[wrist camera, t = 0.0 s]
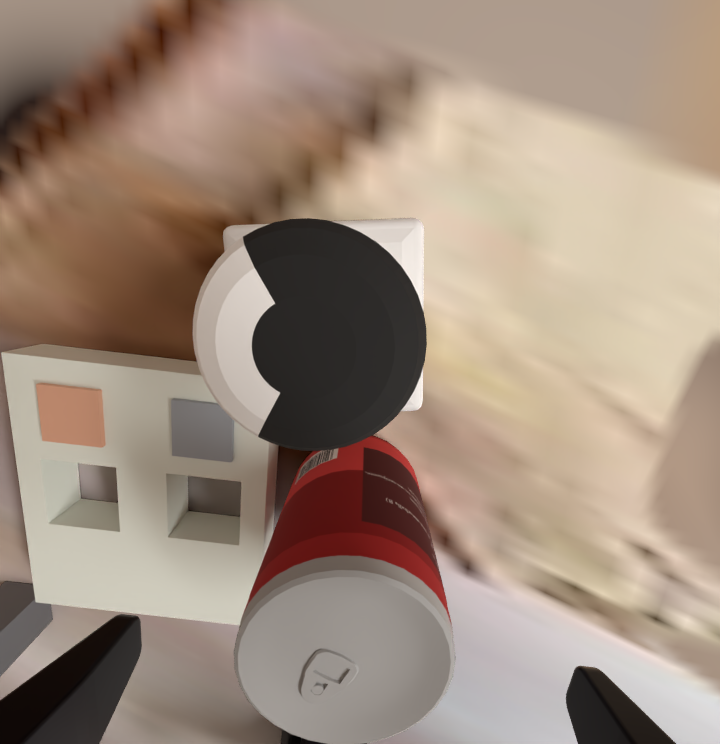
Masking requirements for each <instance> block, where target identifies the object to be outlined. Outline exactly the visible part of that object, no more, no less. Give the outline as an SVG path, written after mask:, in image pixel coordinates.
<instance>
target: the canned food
mask: <svg viewBox="0 0 720 744" xmlns="http://www.w3.org/2000/svg"><path fill="white" fill-rule="evenodd" d="M455 660H456V659H455V649H454V641H453V631H452V624H451V620H450V616H449V611H448V607H447V601H446V596H445V592H444V588H443V584H442V580H441V576H440V572H439V568H438V563H437V559H436V555H435V551H434V547H433V543H432V539H431V535H430V531H429V527H428V523H427V518H426V514H425V510H424V506H423V502H422V498H421V494H420V490H419V486H418V482H417V478H416V475H415V473H414V470H413V468H412V466H411V465H410V463H409V461H408V460H407V459H406V458H405V457H404V455H403V454H402V453H401V452H400V451H399V450H398V449H396V448H395V447H394V446H393V445H391V444H390V443H388V442H387V441H385V440H382V439H380V438H378V437H375V436H370V437H368V438H366V439H364V440H362V441H360V442H357V443H355V444H352V445H349V446H346V447H342V448H337V449H333V450H323V451H313V452H312V453H311V454H310V455H308V456H307V457H306V459H305V460H304V461H303V463H302V464H301V465H300V467H299V469H298V471H297V473H296V476H295V478H294V480H293V483H292V486H291V488H290V491H289V493H288V496H287V499H286V501H285V504H284V507H283V509H282V512H281V514H280V517H279V520H278V522H277V525H276V527H275V530H274V533H273V535H272V538H271V540H270V543H269V546H268V548H267V551H266V553H265V556H264V559H263V561H262V564H261V567H260V569H259V572H258V574H257V577H256V580H255V582H254V585H253V587H252V590H251V593H250V596H249V599H248V602H247V605H246V608H245V610H244V613H243V616H242V618H241V622H240V627H239V631H238V634H237V638H236V643H235V648H234V668H235V672H236V675H237V679H238V682H239V685H240V687H241V689H242V691H243V692H244V694H245V696H246V698H247V700H248V701H249V702H250V703H251V704H252V706H253V707H254V708H255V709H256V710H257V711H258V712H259V713H260V714H261V715H262V716H263V717H265V718H266V719H267V720H268V721H270V722H271V723H272V724H274V725H275V726H277V727H279V728H281V729H283V730H284V731H286V732H288V733H290V734H292V735H295V736H298V737H301V738H304V739H307V740H310V741H315V742H320V743H326V744H363V743H371V742H375V741H379V740H383V739H386V738H390V737H392V736H394V735H397V734H399V733H401V732H404V731H406V730H408V729H409V728H411V727H412V726H414V725H415V724H417V723H419V722H420V721H422V720H423V719H424V718H425V717H426V716H427V715H428V714H429V713H430V712H432V711H433V710H434V709H435V708H436V707H437V705H438V704H439V702H440V701H441V699H442V698H443V697H444V695H445V694H446V692H447V690H448V687H449V685H450V682H451V680H452V678H453V673H454V666H455Z"/></svg>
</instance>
